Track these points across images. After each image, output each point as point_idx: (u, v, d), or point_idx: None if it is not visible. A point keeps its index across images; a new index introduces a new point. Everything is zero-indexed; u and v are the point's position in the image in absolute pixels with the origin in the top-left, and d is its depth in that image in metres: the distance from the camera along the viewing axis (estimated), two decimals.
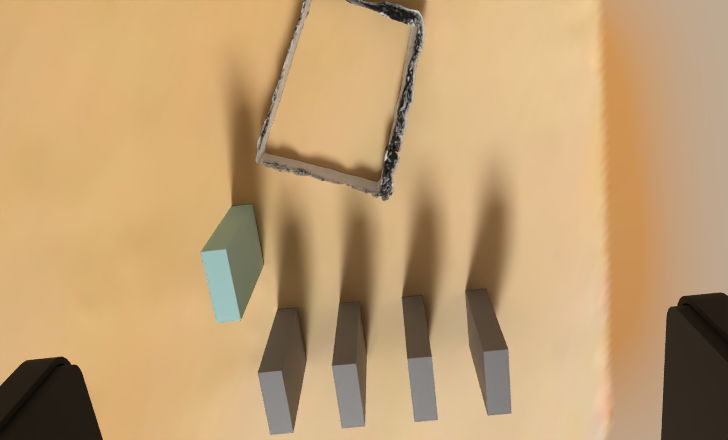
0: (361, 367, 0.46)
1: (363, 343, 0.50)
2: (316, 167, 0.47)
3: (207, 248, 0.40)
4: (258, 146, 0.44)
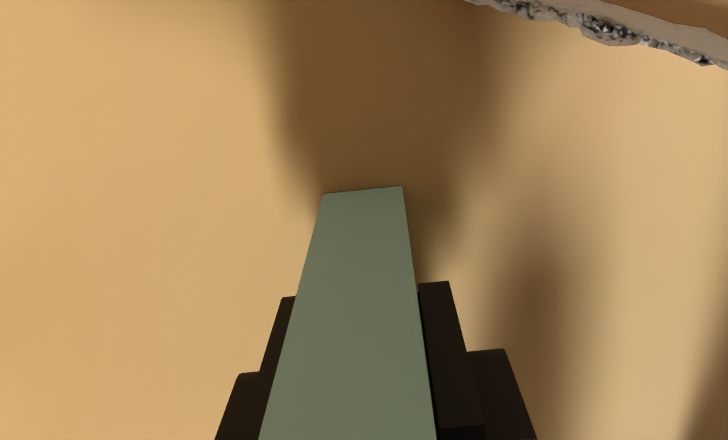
0: None
1: None
2: (650, 19, 0.11)
3: None
4: None
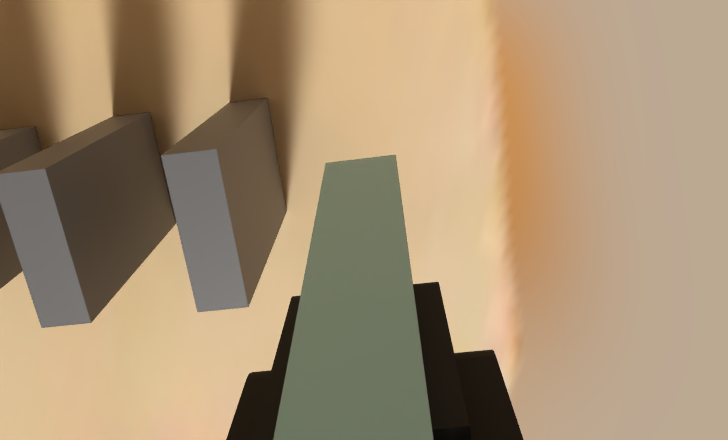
0: None
1: None
2: None
3: (304, 419, 0.07)
4: None
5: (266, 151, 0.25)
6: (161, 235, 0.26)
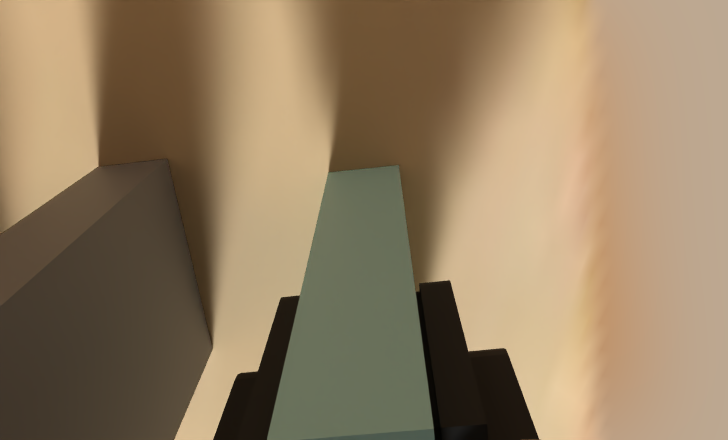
0: None
1: None
2: None
3: (301, 409, 0.06)
4: None
5: (156, 268, 0.13)
6: None
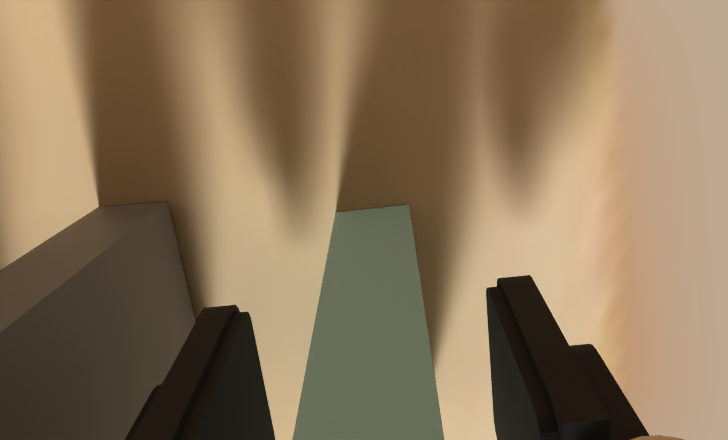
0: None
1: None
2: None
3: None
4: None
5: (144, 322, 0.12)
6: None
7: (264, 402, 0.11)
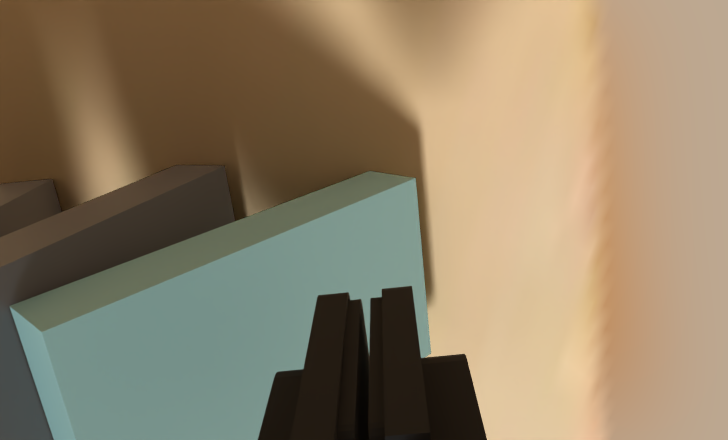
0: None
1: None
2: None
3: (42, 299, 0.11)
4: None
5: None
6: None
7: None
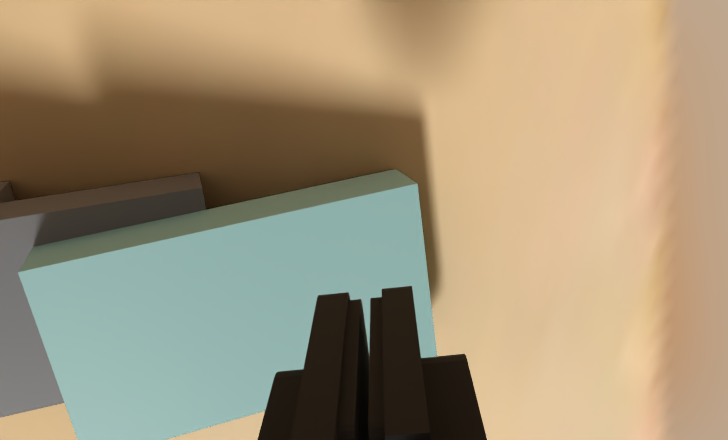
0: None
1: None
2: None
3: (51, 246, 0.15)
4: None
5: None
6: None
7: None
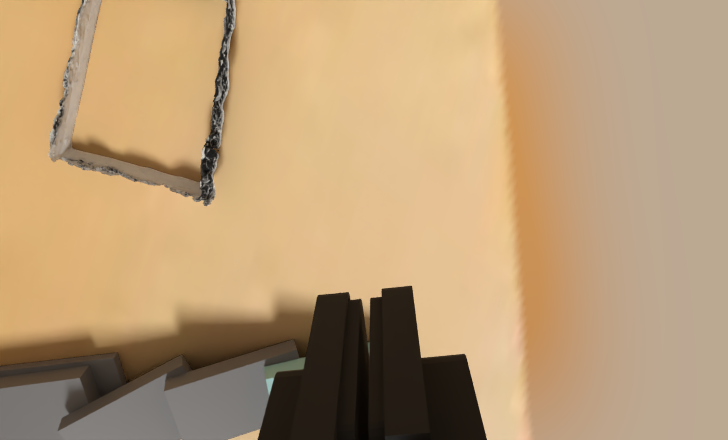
0: (12, 418, 0.44)
1: None
2: (131, 165, 0.40)
3: (270, 367, 0.42)
4: (51, 140, 0.38)
5: None
6: None
7: None
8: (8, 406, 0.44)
